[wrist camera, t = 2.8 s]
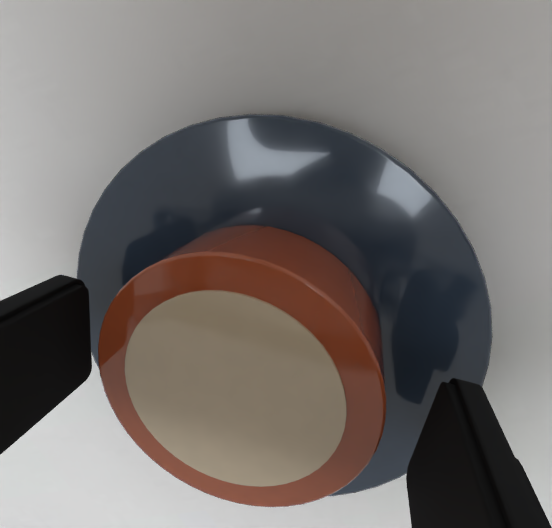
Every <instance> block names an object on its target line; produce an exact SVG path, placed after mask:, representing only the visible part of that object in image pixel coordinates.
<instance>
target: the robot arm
mask: <svg viewBox="0 0 552 528" xmlns="http://www.w3.org/2000/svg"><path fill="white" fill-rule="evenodd" d="M91 369H92V361H91V334H90V308H89V290H88V288H87V287H85V284H84V282H83V281H82V280H79V279H76V278H72V277H68V276H64V275H58V276H55V277H53V278H51V279H48V280H46V281H44V282H42V283H40V284H37V285H35V286H33V287H31V288H28V289H26V290H24V291H22V292H19V293H17V294H15V295H13V296H10V297H8V298H6V299H4V300H2V301H0V454H2V453H3V452H4V451H5V450H6V449H7V448H9V447H10V446H11V445H12V444H13V443H14V442H15V441H17V440H18V439H19V438H20V437H21V436H22V435H24V434H25V433H26V432H27V431H28V430H29V429H30V428H32V427H33V426H34V425H35V424H36V423H37V422H39V421H40V420H41V419H42V418H43V417H44V416H45V415H47V414H48V413H49V412H50V411H51V410H52V409H54V408H55V407H56V406H57V405H58V404H59V403H60V402H62V401H63V400H64V399H65V398H66V397H67V396H69V395H70V394H71V393H72V392H73V391H74V390H75V389H77V388H78V387H79V386H80V385H81V384H82V383H83V382H85V381H86V380H87V378H88V377H89V375H90V373H91ZM406 480H407V490H408V498H409V507H410V515H411V524H412V528H551V526H550V523H549V521H548V519H547V517H546V515H545V513H544V511H543V509H542V507H541V505H540V502H539V500H538V498H537V496H536V494H535V492H534V490H533V488H532V486H531V483H530V481H529V479H528V477H527V475H526V473H525V471H524V469H523V467H522V465H521V464H520V462H519V460H518V459H516V458H515V457H514V455H513V453H512V450H511V448H510V446H509V444H508V442H507V440H506V437H505V435H504V433H503V431H502V429H501V427H500V425H499V422H498V420H497V418H496V416H495V414H494V412H493V409H492V407H491V405H490V403H489V401H488V399H487V397H486V394H485V392H484V390H483V388H482V387H481V385H479V384H475V383H471V382H468V381H464V380H460V379H456V378H452V379H451V380H450V381H449V383H447V382H442V383H441V384H440V386H439V388H438V391H437V393H436V396H435V398H434V401H433V404H432V406H431V409H430V411H429V414H428V416H427V419H426V421H425V424H424V426H423V429H422V431H421V434H420V437H419V439H418V442H417V444H416V447H415V449H414V452H413V454H412V457H411V459H410V462H409V465H408V468H407V478H406Z"/></svg>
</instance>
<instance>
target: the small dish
mask: <svg viewBox="0 0 552 528" xmlns="http://www.w3.org/2000/svg"><path fill="white" fill-rule="evenodd" d="M98 363H99V370H100V376H101V380H102V383H103V387H104V391H105V393H106V396H107V398H108V401H109V403H110V405H111V407H112V409H113V411H114V413H115V415H116V417H117V418H118V420H119V422H120V423H121V425H122V426H123V427H124V429H125V430H126V432H127V433H128V434H129V436H130V437H131V438H132V439H133V440H134V442H135V443H136V444H137V445H138V446H139V447H140V448H141V449H142V450H143V451H144V452H145V453H146V454H147V455H148V456H149V457H150V458H151V459H152V460H153V461H154V462H156V463H157V464H158V465H159V466H160V467H162V468H163V469H164V470H166V471H167V472H169V473H170V474H172V475H173V476H174V477H176V478H178V479H179V480H181V481H183V482H184V483H186V484H188V485H190V486H192V487H194V488H196V489H198V490H200V491H202V492H204V493H207V494H209V495H212V496H215V497H218V498H220V499H224V500H227V501H231V502H235V503H239V504H245V505H251V506H261V507H287V506H294V505H301V504H305V503H309V502H313V501H316V500H319V499H322V498H324V497H326V496H329V495H331V494H333V493H335V492H337V491H338V490H340V489H342V488H343V487H345V486H346V485H348V484H349V483H350V482H351V481H352V480H354V479H355V478H356V477H357V476H358V475H359V474H360V473H361V472H362V471H363V469H364V468H365V467H366V466H367V465H368V463H369V462H370V460H371V458H372V457H373V455H374V453H375V452H376V450H377V448H378V445H379V443H380V440H381V438H382V435H383V431H384V426H385V421H386V404H387V398H386V384H385V371H384V358H383V345H382V336H381V329H380V324H379V321H378V317H377V314H376V311H375V308H374V306H373V304H372V302H371V300H370V298H369V296H368V294H367V292H366V291H365V289H364V288H363V286H362V285H361V283H360V282H359V280H358V279H357V278H356V277H355V276H354V274H353V273H352V272H351V271H350V270H349V269H348V267H346V266H345V265H344V264H343V263H342V262H341V261H340V260H339V259H338V258H337V257H335V256H334V255H333V254H331V253H330V252H329V251H327V250H326V249H324V248H323V247H321V246H320V245H318V244H316V243H314V242H312V241H310V240H309V239H307V238H305V237H302V236H300V235H297V234H294V233H292V232H289V231H286V230H282V229H278V228H273V227H268V226H259V225H236V226H230V227H224V228H219V229H216V230H213V231H210V232H207V233H204V234H202V235H200V236H198V237H196V238H194V239H192V240H191V241H189V242H187V243H186V244H184V245H182V246H181V247H179V248H178V249H176V250H174V251H173V252H171V253H169V254H168V255H166V256H164V257H163V258H161V259H159V260H158V261H156V262H155V263H153V264H151V265H150V266H148V267H146V268H145V269H143V270H142V271H141V272H139V273H138V274H136V275H135V276H133V277H132V278H131V279H130V280H129V281H128V282H127V283H126V284H125V285H124V286H123V287H122V288H121V289H120V291H119V292H118V293H117V295H116V296H115V298H114V299H113V300H112V302H111V304H110V306H109V308H108V310H107V312H106V314H105V316H104V320H103V323H102V326H101V330H100V335H99V343H98Z"/></svg>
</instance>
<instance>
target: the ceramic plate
mask: <svg viewBox="0 0 552 528" xmlns="http://www.w3.org/2000/svg"><path fill="white" fill-rule="evenodd" d="M236 225H259V226H268V227H273V228H278V229H282V230H286V231H289V232H292V233H294V234H297V235H300V236H302V237H305V238H307V239H309V240H310V241H312V242H314V243H316V244H318V245H320V246H321V247H323V248H324V249H326V250H327V251H329V252H330V253H331V254H333V255H334V256H335V257H337V258H338V259H339V260H340V261H341V262H342V263H343V264H344V265H345V266H346V267H348V269H349V270H350V271H351V272H352V273H353V274H354V276H355V277H356V278H357V279H358V280H359V282H360V283H361V285H362V286H363V288H364V289H365V291H366V292H367V294H368V296H369V298H370V300H371V302H372V304H373V306H374V308H375V311H376V314H377V317H378V321H379V324H380V329H381V336H382V345H383V358H384V371H385V384H386V398H387V404H386V421H385V426H384V431H383V435H382V438H381V440H380V443H379V445H378V448H377V450H376V452H375V453H374V455H373V457H372V458H371V460H370V462H369V463H368V465H367V466H366V467H365V468H364V469H363V471H362V472H361V473H360V474H359V475H358V476H357V477H356V478H355V479H354V480H352V481H351V482H350V483H349V484H348V485H346V486H345V487H343V488H342V489H340V490H338V491H337V492H335V493H333V494H331V495H329V496H336V495H343V494H349V493H356V492H359V491H363V490H367V489H370V488H374V487H378V486H380V485H382V484H385V483H387V482H390V481H392V480H395V479H397V478H399V477H401V476H403V475H405V474H407V468H408V465H409V462H410V459H411V457H412V454H413V452H414V449H415V447H416V444H417V442H418V439H419V437H420V434H421V431H422V429H423V426H424V424H425V421H426V419H427V416H428V414H429V411H430V409H431V406H432V404H433V401H434V398H435V396H436V393H437V391H438V388H439V386H440V384H441V383H442V382H447V383H449V381H450V380H451V379H452V378H456V379H460V380H464V381H468V382H471V383H475V384H479V385H481V387H482V386H483V382H484V379H485V376H486V372H487V369H488V365H489V360H490V351H491V343H492V317H491V305H490V300H489V295H488V290H487V286H486V281H485V277H484V274H483V272H482V269H481V266H480V264H479V261H478V259H477V256H476V253H475V251H474V248H473V246H472V245H471V243H470V241H469V239H468V238H467V236H466V234H465V232H464V231H463V229H462V227H461V225H460V224H459V222H458V220H457V219H456V218H455V216H454V215H453V214H452V213H451V211H450V210H449V209H448V207H447V206H446V205H445V204H444V202H443V201H442V200H441V199H440V197H439V196H438V195H437V194H436V192H434V191H433V190H432V189H431V188H430V187H429V186H428V185H427V184H426V183H425V182H424V181H423V180H422V179H421V178H420V177H418V176H417V175H416V174H415V173H414V172H413V171H412V170H411V169H410V168H409V167H407V166H406V165H405V164H403V163H402V162H400V161H399V160H398V159H396V158H395V157H393V156H392V155H390V154H389V153H388V152H386V151H385V150H383V149H382V148H380V147H378V146H377V145H375V144H373V143H371V142H369V141H367V140H365V139H363V138H361V137H359V136H357V135H355V134H353V133H350V132H348V131H345V130H342V129H339V128H336V127H333V126H330V125H327V124H324V123H321V122H317V121H311V120H306V119H300V118H295V117H290V116H284V115H262V114H247V115H237V116H228V117H219V118H215V119H212V120H208V121H204V122H200V123H196V124H193V125H189V126H187V127H185V128H183V129H180V130H178V131H176V132H174V133H171V134H169V135H167V136H164V137H163V138H161V139H160V140H158V141H156V142H155V143H153V144H152V145H150V146H149V147H147V148H146V149H144V150H142V151H141V152H140V153H139V154H138V155H136V156H135V157H134V158H133V159H132V160H131V161H130V162H129V163H128V164H126V165H125V166H124V167H123V168H122V169H121V170H120V171H119V173H118V174H117V175H116V176H115V177H114V179H113V180H112V181H111V182H110V184H109V185H108V186H107V187H106V189H105V190H104V192H103V193H102V195H101V197H100V199H99V200H98V202H97V204H96V205H95V207H94V209H93V211H92V213H91V216H90V218H89V221H88V223H87V226H86V228H85V231H84V235H83V239H82V243H81V247H80V252H79V258H78V269H77V279H79V280H82V281H83V282H84V284H85V287H87V288H88V290H89V308H90V334H91V352H92V355H93V357H94V360H95V362H96V364H97V366H98V368H99V363H98V343H99V335H100V330H101V326H102V323H103V320H104V316H105V314H106V312H107V310H108V308H109V306H110V304H111V302H112V300H113V299H114V298H115V296H116V295H117V293H118V292H119V291H120V289H121V288H122V287H123V286H124V285H125V284H126V283H127V282H128V281H129V280H130V279H131V278H132V277H133V276H135V275H136V274H138V273H139V272H141V271H142V270H143V269H145V268H146V267H148V266H150V265H151V264H153V263H155V262H156V261H158V260H159V259H161V258H163V257H164V256H166V255H168V254H169V253H171V252H173V251H174V250H176V249H178V248H179V247H181V246H182V245H184V244H186V243H187V242H189V241H191V240H192V239H194V238H196V237H198V236H200V235H202V234H204V233H207V232H210V231H213V230H216V229H219V228H224V227H230V226H236Z"/></svg>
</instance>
